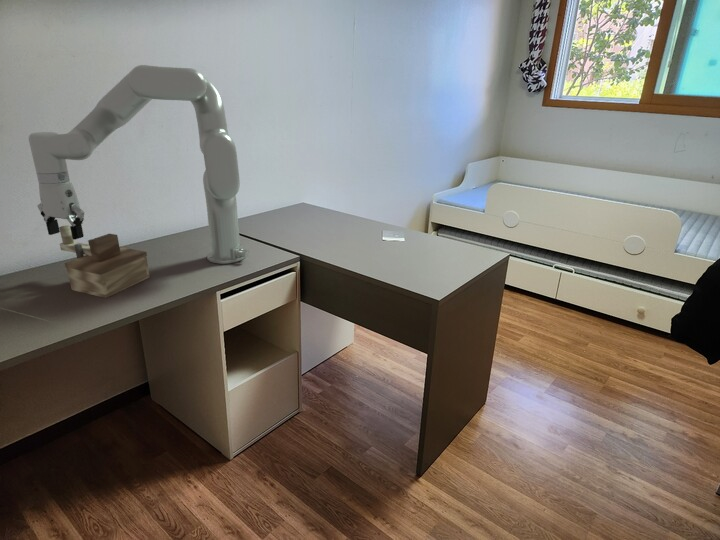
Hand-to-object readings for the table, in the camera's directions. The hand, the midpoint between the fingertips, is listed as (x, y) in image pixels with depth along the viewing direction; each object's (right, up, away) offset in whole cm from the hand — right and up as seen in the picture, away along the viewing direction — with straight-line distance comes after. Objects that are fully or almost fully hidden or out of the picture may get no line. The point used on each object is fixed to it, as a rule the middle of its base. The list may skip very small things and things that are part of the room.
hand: (66, 235), depth 138 cm
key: (+4, -5, 0) cm, 6 cm away
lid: (+14, -8, -3) cm, 16 cm away
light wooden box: (+13, -14, 0) cm, 19 cm away
